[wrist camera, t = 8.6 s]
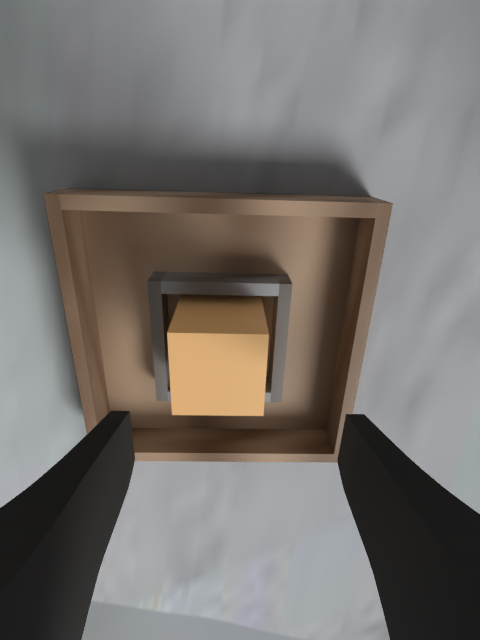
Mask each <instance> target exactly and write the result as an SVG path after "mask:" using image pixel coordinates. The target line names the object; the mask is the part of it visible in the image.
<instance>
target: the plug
mask: <svg viewBox="0 0 480 640" xmlns="http://www.w3.org/2000/svg"><path fill="white" fill-rule="evenodd" d="M167 340H168V357H169V374H170V390H171V407H172V415H213V416H264V401H265V386H266V372H267V357H268V342H269V332H268V327H267V322H266V317H265V312H264V307H263V302H262V297H261V296H245V295H196V294H181V296H180V299H179V302H178V304H177V307H176V310H175V313H174V315H173V318H172V321H171V323H170V326H169V329H168V332H167Z"/></svg>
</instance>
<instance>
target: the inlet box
mask: <svg viewBox="0 0 480 640" xmlns="http://www.w3.org/2000/svg"><path fill="white" fill-rule="evenodd" d="M43 195H44V200H45V206H46V211H47V217H48V222H49V228H50V233H51V239H52V244H53V250H54V255H55V261H56V266H57V272H58V277H59V283H60V288H61V294H62V299H63V305H64V310H65V315H66V321H67V326H68V332H69V337H70V343H71V348H72V354H73V359H74V365H75V370H76V376H77V381H78V387H79V392H80V398H81V403H82V409H83V414H84V420H85V425H86V431H87V434H88V433H89V432H90V431H91V430H92V429H93V428H94V427H95V426H96V425H97V424H98V423H99V422H100V421H101V420H102V419H103V418H104V417H105V416H106V415H107V414H108V413H109V412H110V411H130V418H131V427H132V435H133V444H134V453H135V461H222V462H338V461H337V459H338V454H339V449H340V443H341V438H342V432H343V427H344V422H345V416H346V414H353V409H354V403H355V398H356V393H357V388H358V383H359V377H360V372H361V367H362V362H363V356H364V351H365V346H366V341H367V336H368V330H369V325H370V320H371V315H372V309H373V304H374V299H375V294H376V288H377V283H378V278H379V273H380V268H381V262H382V257H383V252H384V247H385V241H386V236H387V231H388V226H389V221H390V215H391V210H392V205H393V203H390V202H386V201H383V200H380V199H377V198H373V197H357V196H321V195H286V194H251V193H215V192H180V191H144V190H109V189H74V188H68V189H64V190H59V191H54V192H49V193H45V194H43ZM181 294H196V295H245V296H261V297H262V302H263V307H264V312H265V317H266V322H267V327H268V332H269V342H268V357H267V372H266V386H265V401H264V416H213V415H172V407H171V390H170V374H169V357H168V340H167V332H168V329H169V326H170V323H171V321H172V318H173V315H174V313H175V310H176V307H177V304H178V302H179V299H180V296H181Z"/></svg>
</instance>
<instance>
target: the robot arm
mask: <svg viewBox="0 0 480 640" xmlns="http://www.w3.org/2000/svg"><path fill="white" fill-rule="evenodd" d="M134 461H135V453H134V444H133V435H132V427H131V418H130V411H110V412H109V413H108V414H107V415H106V416H105V417H104V418H103V419H102V420H101V421H100V422H99V423H98V424H97V425H96V426H95V427H94V428H93V429H92V430H91V431H90V432H89V433H88V434H87V435H86V436H85V437H84V438H83V439H82V440H81V441H80V442H79V443H78V444H77V445H76V446H75V447H74V448H73V449H72V450H71V451H70V452H69V453H67V454H66V455H65V456H64V457H63V458H62V459H61V460H60V461H59V462H58V463H56V464H55V465H54V466H53V467H52V468H51V469H50V470H48V471H47V472H46V473H45V474H44V475H43V476H42V477H40V478H39V479H38V480H37V481H36V482H34V483H33V484H32V485H31V486H29V487H28V488H27V489H26V490H24V491H23V492H22V493H20V494H19V495H18V496H16V497H15V498H14V499H12V500H11V501H10V502H8V503H7V504H5V505H4V506H3V507H1V508H0V640H81V638H82V634H83V631H84V627H85V622H86V618H87V614H88V610H89V606H90V603H91V599H92V595H93V591H94V588H95V584H96V580H97V576H98V573H99V569H100V566H101V563H102V560H103V557H104V554H105V551H106V549H107V546H108V543H109V540H110V538H111V535H112V532H113V529H114V527H115V524H116V521H117V518H118V516H119V513H120V510H121V507H122V504H123V502H124V499H125V496H126V493H127V490H128V487H129V483H130V479H131V475H132V470H133V466H134ZM337 461H338V466H339V470H340V475H341V479H342V484H343V488H344V491H345V494H346V497H347V500H348V503H349V506H350V508H351V511H352V514H353V517H354V520H355V522H356V525H357V528H358V531H359V533H360V536H361V539H362V542H363V544H364V547H365V550H366V553H367V555H368V558H369V561H370V564H371V568H372V571H373V574H374V577H375V581H376V585H377V589H378V593H379V596H380V600H381V604H382V608H383V612H384V616H385V620H386V624H387V628H388V632H389V636H390V640H480V514H479V513H477V512H476V511H474V510H473V509H471V508H470V507H469V506H467V505H466V504H465V503H463V502H462V501H461V500H459V499H458V498H457V497H455V496H454V495H453V494H451V493H450V492H449V491H447V490H446V489H445V488H444V487H442V486H441V485H440V484H439V483H437V482H436V481H435V480H434V479H433V478H431V477H430V476H429V475H428V474H427V473H426V472H424V471H423V470H422V469H421V468H420V467H419V466H417V465H416V464H415V463H414V462H413V461H412V460H411V459H410V458H409V457H407V456H406V455H405V454H404V453H403V452H402V451H401V450H400V449H399V448H398V447H397V446H396V445H395V444H394V443H393V442H392V441H391V440H390V439H389V438H388V437H387V436H386V435H384V434H383V433H382V432H381V431H380V430H379V429H378V428H377V427H376V426H375V425H374V424H373V423H372V422H371V421H370V420H369V419H368V418H367V417H366V416H365V415H364V414H346V416H345V422H344V427H343V432H342V438H341V443H340V449H339V454H338V459H337Z"/></svg>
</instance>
